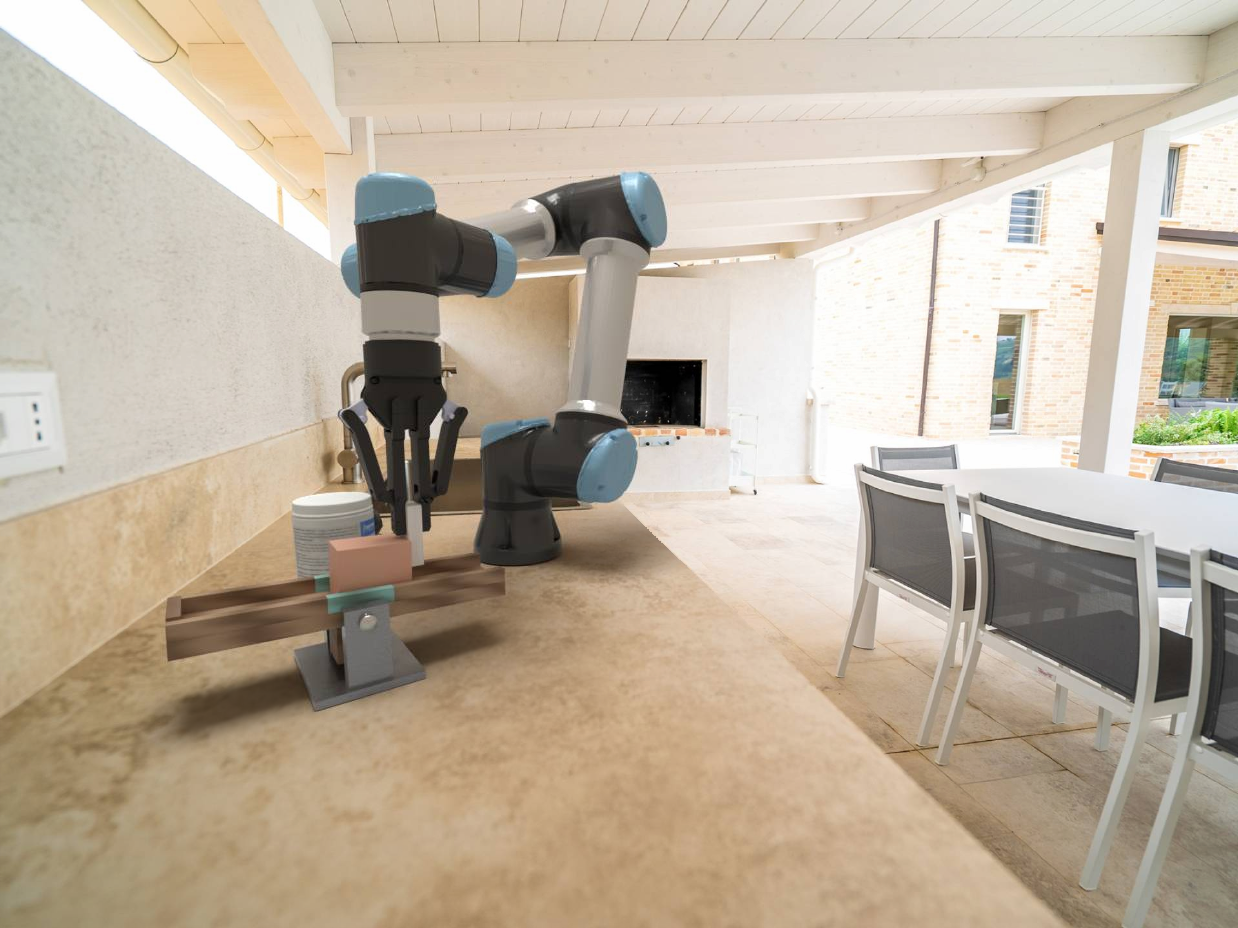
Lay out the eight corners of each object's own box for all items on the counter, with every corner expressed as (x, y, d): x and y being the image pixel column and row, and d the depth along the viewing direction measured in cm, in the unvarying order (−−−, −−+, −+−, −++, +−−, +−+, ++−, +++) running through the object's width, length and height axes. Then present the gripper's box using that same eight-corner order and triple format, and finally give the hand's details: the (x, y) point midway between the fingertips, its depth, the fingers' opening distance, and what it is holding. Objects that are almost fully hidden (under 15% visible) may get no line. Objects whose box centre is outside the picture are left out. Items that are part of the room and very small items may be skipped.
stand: (389, 632, 68) (385, 564, 67) (426, 678, 58) (422, 598, 57) (294, 656, 63) (287, 581, 61) (315, 711, 52) (308, 623, 51)
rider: (399, 580, 64) (398, 532, 63) (412, 592, 60) (411, 541, 60) (330, 592, 60) (328, 540, 59) (339, 605, 56) (337, 551, 56)
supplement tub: (386, 610, 75) (379, 499, 73) (303, 627, 70) (294, 508, 68) (371, 588, 83) (365, 488, 81) (296, 602, 78) (287, 495, 76)
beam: (476, 611, 72) (476, 549, 71) (504, 633, 66) (505, 565, 65) (173, 675, 54) (167, 594, 53) (171, 714, 48) (164, 622, 47)
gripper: (450, 344, 66) (458, 545, 69) (325, 339, 58) (340, 564, 62) (477, 340, 60) (484, 560, 63) (341, 333, 52) (356, 584, 56)
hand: (413, 562), depth 62 cm, fingers closed
